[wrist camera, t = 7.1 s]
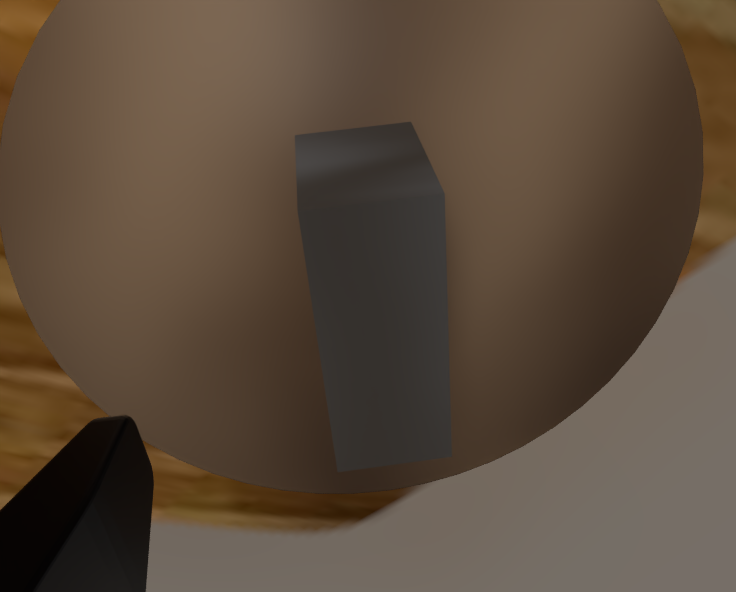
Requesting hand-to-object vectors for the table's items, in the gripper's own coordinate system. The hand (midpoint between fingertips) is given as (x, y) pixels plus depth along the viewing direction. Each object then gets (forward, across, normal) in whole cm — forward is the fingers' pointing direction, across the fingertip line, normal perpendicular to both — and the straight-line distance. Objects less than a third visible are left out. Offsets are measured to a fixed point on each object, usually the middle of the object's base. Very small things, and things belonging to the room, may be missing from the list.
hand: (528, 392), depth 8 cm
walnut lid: (+7, +2, +1) cm, 7 cm away
